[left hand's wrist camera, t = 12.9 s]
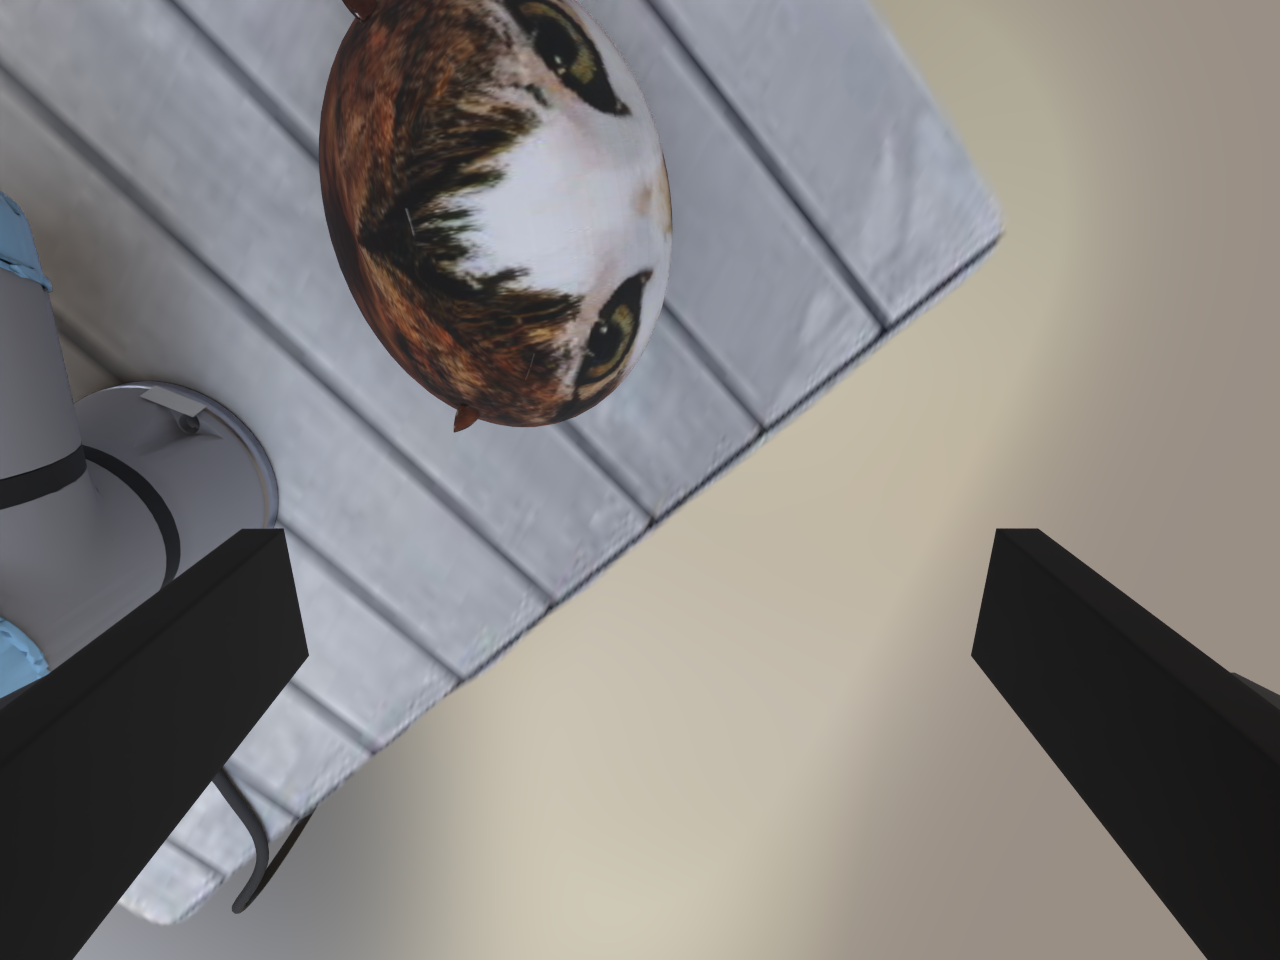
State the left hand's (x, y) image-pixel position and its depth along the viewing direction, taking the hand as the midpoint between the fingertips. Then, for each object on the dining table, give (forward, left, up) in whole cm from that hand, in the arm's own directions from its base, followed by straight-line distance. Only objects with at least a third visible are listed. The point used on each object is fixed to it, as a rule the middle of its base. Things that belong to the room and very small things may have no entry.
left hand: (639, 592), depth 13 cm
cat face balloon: (+8, +6, -36) cm, 37 cm away
